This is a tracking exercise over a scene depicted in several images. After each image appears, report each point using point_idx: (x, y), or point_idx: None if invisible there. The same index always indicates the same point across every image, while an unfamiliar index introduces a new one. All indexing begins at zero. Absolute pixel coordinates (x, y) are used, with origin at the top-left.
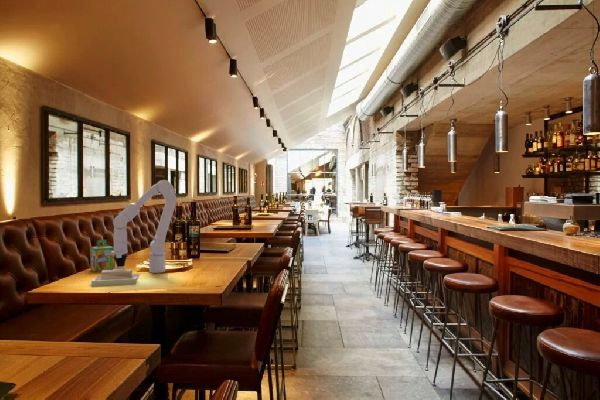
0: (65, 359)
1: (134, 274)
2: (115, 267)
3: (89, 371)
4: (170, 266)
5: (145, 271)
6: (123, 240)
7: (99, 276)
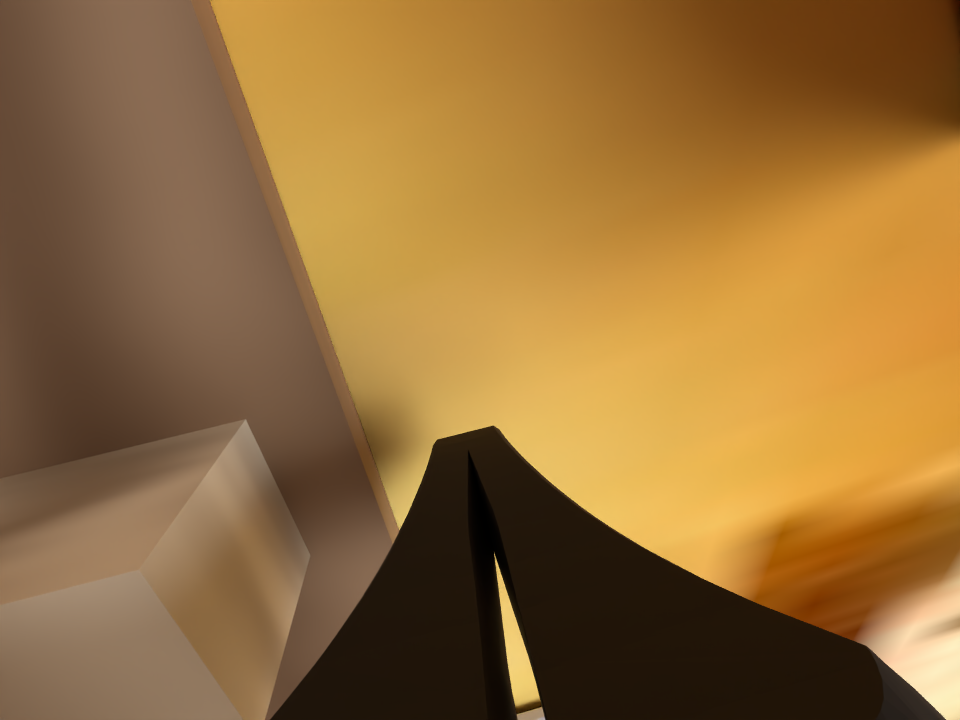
0: None
1: None
2: (14, 630)
3: None
4: (946, 714)
5: None
6: None
7: (65, 70)
